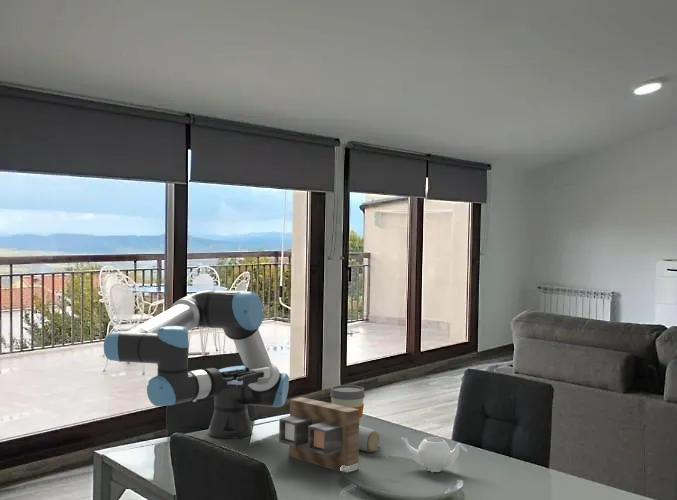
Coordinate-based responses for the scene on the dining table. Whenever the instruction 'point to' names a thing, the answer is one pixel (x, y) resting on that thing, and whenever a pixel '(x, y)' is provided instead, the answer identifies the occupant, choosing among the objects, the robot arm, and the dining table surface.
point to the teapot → (433, 452)
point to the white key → (289, 431)
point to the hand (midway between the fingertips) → (268, 372)
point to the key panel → (325, 418)
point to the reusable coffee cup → (348, 397)
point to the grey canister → (368, 439)
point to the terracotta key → (318, 439)
